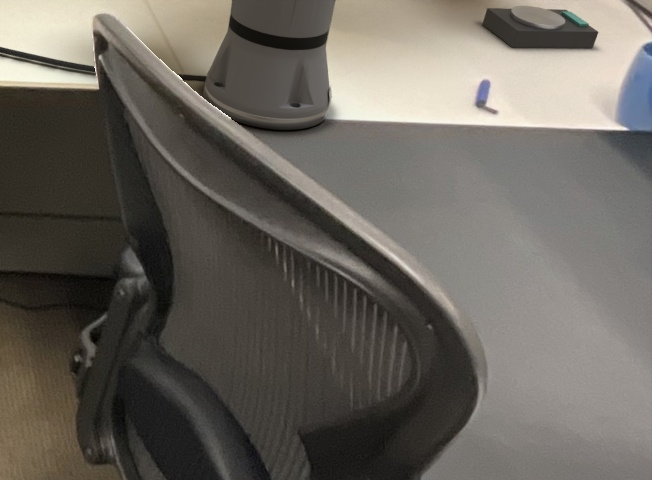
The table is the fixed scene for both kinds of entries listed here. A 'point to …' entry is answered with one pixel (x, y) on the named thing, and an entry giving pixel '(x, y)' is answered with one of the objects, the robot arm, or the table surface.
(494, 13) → the scale
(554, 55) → the table surface
